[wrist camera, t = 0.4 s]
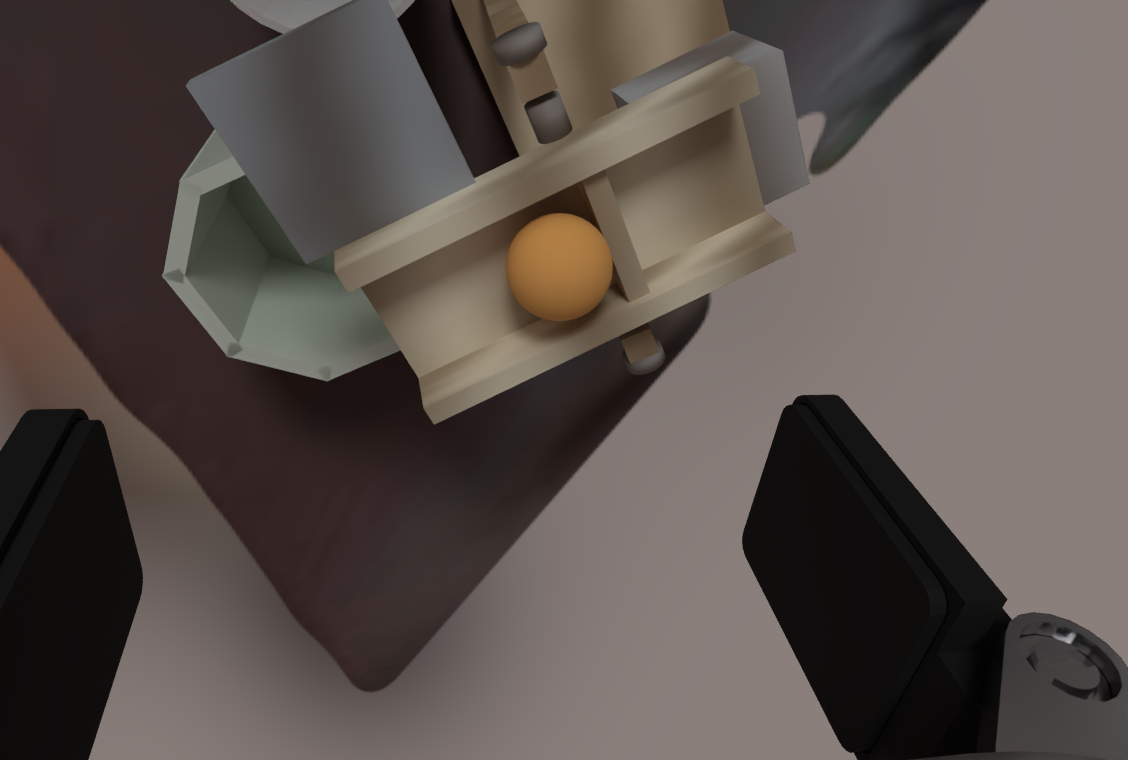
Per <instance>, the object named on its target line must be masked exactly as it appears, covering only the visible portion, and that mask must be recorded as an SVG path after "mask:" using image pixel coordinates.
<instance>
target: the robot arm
mask: <svg viewBox="0 0 1128 760" xmlns="http://www.w3.org/2000/svg"><path fill="white" fill-rule="evenodd" d="M742 544H743V550H744V554H745V557H746V559H747V561H748V563H749V565H750V567H751V569H752V571H753V573H754V575H755V577H756V579H757V581H758V582H759V585H760V587H761V588H762V590H763V592H764V594H765V596H766V598H767V600H768V602H769V604H770V606H771V608H772V610H773V612H774V614H775V616H776V618H777V620H778V622H779V624H780V626H781V628H782V630H783V632H784V634H785V636H786V638H787V639H788V642H789V644H790V645H791V648H792V650H793V652H794V654H795V656H796V658H797V659H798V661H799V663H800V665H801V667H802V669H803V671H804V673H805V675H806V677H807V679H808V681H809V683H810V685H811V687H812V689H813V691H814V693H815V695H816V697H817V699H818V701H819V703H820V705H821V707H822V709H823V711H824V713H825V715H826V717H827V719H828V721H829V723H830V725H831V727H832V729H833V731H834V733H835V735H836V736H837V738H838V740H839V742H840V743H841V745H842V747H843V748H844V749H845V750H846V751H848V752H850V753H852V752H854V754H855V756H856V758H857V760H1128V667H1127V666H1126V664H1125V663H1124V661H1123V660H1122V658H1121V657H1120V656H1119V655H1118V654H1117V653H1116V652H1115V651H1114V650H1113V649H1112V648H1111V647H1110V646H1109V645H1108V644H1107V643H1106V642H1104V641H1103V640H1101V639H1100V638H1099V637H1097V636H1095V634H1093V633H1092V632H1090V631H1089V630H1087V629H1085V628H1083V627H1081V626H1079V625H1078V624H1076V623H1074V622H1072V621H1070V620H1067V619H1064V618H1060V617H1057V616H1054V615H1051V614H1044V613H1035V612H1033V613H1027V614H1021V615H1018V616H1017V617H1016V618H1014V619H1013V620H1012V619H1011V618H1010V617H1009V616H1008V614H1007V613H1006V612H1005V611H1004V609H1003V608H1002V607H1003V606H1004V604H1005V602H1006V601H1007V598H1006V597H1005V596H1004V595H1003V593H1002V592H1001V591H1000V590H999V589H998V587H997V586H996V585H995V584H994V582H993V581H992V580H991V579H990V578H989V577H988V575H987V574H986V573H985V572H984V570H983V569H982V568H981V567H980V565H979V564H978V563H977V562H976V561H975V559H974V558H973V557H972V556H971V555H970V554H969V552H968V551H967V550H966V549H965V547H964V546H963V545H962V544H961V543H960V541H959V540H958V539H957V538H956V536H955V535H954V534H953V533H952V532H951V530H950V529H949V528H948V527H947V525H946V524H945V523H944V522H943V521H942V519H941V518H940V517H939V516H938V515H937V513H936V512H935V511H934V510H933V508H932V507H931V506H930V505H929V504H928V503H927V501H926V500H925V499H924V498H923V496H922V495H921V494H920V493H919V491H918V490H917V489H916V488H915V487H914V485H913V484H912V483H911V482H910V481H909V480H908V478H907V477H906V476H905V474H904V473H903V472H902V471H901V470H900V469H899V467H898V466H897V465H896V464H895V462H894V461H893V460H892V459H891V457H889V455H888V454H887V453H886V451H885V450H884V449H883V448H882V447H881V445H880V444H879V443H878V442H877V441H876V439H875V438H874V437H873V436H872V435H871V433H870V432H869V431H868V430H867V428H866V427H865V426H864V425H863V424H862V423H861V421H860V420H859V419H858V417H857V416H856V415H855V414H854V413H853V412H852V410H851V409H850V408H849V407H848V405H847V404H846V403H845V402H844V401H843V399H841V398H840V397H839V396H837V395H801V396H798V397H797V398H796V399H795V400H794V402H793V404H792V405H788V406H786V407H785V408H784V409H783V412H782V414H781V417H780V420H779V423H778V426H777V429H776V433H775V435H774V439H773V442H772V445H771V448H770V451H769V454H768V457H767V460H766V463H765V467H764V469H763V473H762V476H761V479H760V482H759V485H758V488H757V491H756V494H755V497H754V501H753V503H752V506H751V510H750V513H749V516H748V519H747V523H746V525H745V528H744V532H743V536H742ZM142 585H143V574H142V567H141V563H140V559H139V555H138V552H137V548H136V544H135V540H134V536H133V532H132V529H131V525H130V521H129V517H128V513H127V510H126V506H125V502H124V499H123V495H122V491H121V487H120V483H119V479H118V475H117V472H116V468H115V464H114V460H113V456H112V453H111V449H110V445H109V441H108V438H107V434H106V430H105V427H104V424H103V423H102V422H101V421H100V420H89V419H88V416H87V415H86V413H85V412H84V410H81V409H43V410H42V409H39V410H29V411H27V412H26V413H25V414H24V415H23V416H22V418H21V419H20V421H19V422H18V424H17V425H16V427H15V429H14V430H13V432H12V434H11V435H10V437H9V438H8V440H7V442H6V443H5V445H4V446H3V448H2V450H1V451H0V760H88V759H89V756H90V753H91V750H92V747H93V743H94V740H95V737H96V734H97V731H98V728H99V725H100V722H101V718H102V715H103V712H104V709H105V706H106V703H107V700H108V697H109V693H110V691H111V687H112V684H113V681H114V678H115V675H116V671H117V669H118V665H119V663H120V659H121V656H122V653H123V650H124V647H125V644H126V641H127V638H128V635H129V631H130V628H131V625H132V622H133V619H134V615H135V613H136V609H137V606H138V603H139V600H140V596H141V593H142Z"/></svg>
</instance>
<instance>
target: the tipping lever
mask: <svg viewBox="0 0 1128 760" xmlns="http://www.w3.org/2000/svg"><path fill="white" fill-rule="evenodd" d="M186 87H187V89H188V90H189V92H190V93H191V94H192V96H193V97H194V99H195V100H196V102H197V103H198V105H199V106H200V108H201V109H202V111H203V112H204V114H205V115H206V117H207V118H208V120H209V121H210V123H211V124H212V126H213V127H214V129H215V130H216V132H217V133H218V135H219V136H220V138H221V139H222V140H223V142H224V143H225V145H226V146H227V148H228V149H229V151H230V152H231V154H232V155H233V157H234V158H235V160H236V161H237V163H238V164H239V166H240V167H241V169H242V170H243V172H244V173H245V175H246V176H247V178H248V179H249V181H250V182H251V184H252V185H253V186H254V188H255V189H256V191H257V192H258V194H259V195H260V197H261V198H262V200H263V201H264V203H265V204H266V206H267V207H268V209H269V210H270V212H271V213H272V215H273V216H274V218H275V219H276V221H277V222H278V224H279V225H280V227H281V228H282V229H283V231H284V232H285V234H286V235H287V237H288V238H289V240H290V241H291V243H292V244H293V246H294V247H295V249H296V250H297V252H298V253H299V255H300V256H301V258H302V259H303V261H304V262H305V264H306V265H307V264H309V263H311V262H313V261H315V260H317V259H319V258H321V257H323V256H325V255H327V254H329V253H332V252H334V257H335V273H336V275H337V276H338V278H339V280H340V281H341V283H342V284H343V286H344V287H345V289H346V290H347V292H348V293H350V292H352V291H354V290H356V289H358V288H360V287H361V289H362V290H363V292H364V293H365V295H366V297H367V298H368V300H369V301H370V303H371V304H372V306H373V307H374V309H375V311H376V312H377V314H378V315H379V317H380V318H381V320H382V322H383V323H384V325H385V326H386V328H387V329H388V331H389V333H390V334H391V336H392V337H393V339H394V340H395V342H396V344H397V345H398V347H399V348H400V350H401V351H402V353H403V355H404V356H405V358H406V359H407V361H408V362H409V364H410V366H411V367H412V369H413V370H414V372H415V373H416V375H417V376H418V378H419V384H420V390H421V396H422V402H423V408H424V410H425V411H426V413H427V414H428V416H429V417H430V419H431V421H432V422H433V424H434V425H435V424H437V423H439V422H441V421H443V420H445V419H447V418H449V417H451V416H453V415H455V414H457V413H460V412H462V411H464V410H466V409H468V408H470V407H472V406H474V405H476V404H478V403H480V402H483V401H485V400H487V399H489V398H491V397H493V396H495V395H497V394H499V393H501V392H503V391H505V390H508V389H510V388H512V387H514V386H516V385H518V384H520V383H522V382H524V381H526V380H528V379H530V378H533V377H535V376H537V375H539V374H541V373H543V372H545V371H547V370H549V369H551V368H553V367H555V366H558V365H560V364H562V363H564V362H566V361H568V360H570V359H572V358H574V357H576V356H578V355H580V354H583V353H585V352H587V351H589V350H591V349H593V348H595V347H597V346H599V345H601V344H603V343H605V342H608V341H610V340H612V339H614V338H616V337H618V336H620V335H622V334H624V333H626V332H628V331H630V330H633V329H635V328H637V327H639V326H641V325H643V324H645V323H647V322H649V321H651V320H653V319H655V318H658V317H660V316H662V315H664V314H666V313H668V312H670V311H672V310H674V309H676V308H678V307H680V306H683V305H685V304H687V303H689V302H691V301H693V300H695V299H697V298H699V297H701V296H703V295H705V294H708V293H710V292H712V291H714V290H716V289H718V288H720V287H722V286H724V285H726V284H728V283H730V282H732V281H735V280H736V279H739V278H741V277H743V276H745V275H747V274H749V273H751V272H753V271H755V270H758V269H760V268H762V267H764V266H766V265H768V264H770V263H772V262H774V261H776V260H778V259H780V258H783V257H785V256H787V255H789V254H791V253H793V252H795V251H796V249H795V245H794V241H793V236H792V232H791V231H790V230H789V229H787V228H786V227H785V226H783V225H782V224H781V223H780V222H778V221H777V220H776V219H775V218H773V217H772V216H771V215H769V214H768V213H767V212H766V211H765V209H764V205H766V204H768V203H770V202H772V201H774V200H776V199H779V198H781V197H783V196H785V195H787V194H789V193H791V192H793V191H795V190H797V189H799V188H801V187H804V186H806V185H808V184H810V183H809V178H808V173H807V168H806V163H805V158H804V153H803V149H802V143H801V139H800V133H799V128H798V124H797V119H796V114H795V109H794V104H793V99H792V94H791V89H790V84H789V79H788V74H787V69H786V64H785V59H784V54H783V51H782V50H780V49H777V48H775V47H772V46H770V45H767V44H765V43H762V42H760V41H757V40H755V39H752V38H750V37H747V36H745V35H742V34H739V33H737V32H734V31H731V32H728V33H726V34H724V35H722V36H720V37H718V38H716V39H714V40H712V41H710V42H708V43H706V44H704V45H702V46H700V47H698V48H695V49H693V50H691V51H689V52H687V53H685V54H683V55H681V56H679V57H677V58H675V59H673V60H671V61H669V62H667V63H665V64H662V65H660V66H658V67H656V68H654V69H652V70H650V71H648V72H646V73H644V74H642V75H640V76H638V77H636V78H634V79H631V80H629V81H627V82H625V83H623V84H621V85H619V86H617V87H615V88H613V89H611V92H612V95H613V97H614V100H615V103H616V106H617V110H615V111H613V112H611V113H609V114H606V115H604V116H602V117H600V118H598V119H596V120H594V121H592V122H590V123H588V124H586V125H584V126H582V127H580V128H578V129H575V130H573V131H572V125H571V122H570V120H569V117H568V114H567V112H566V109H565V107H564V104H563V101H562V99H561V96H560V94H559V92H558V91H551V92H548V93H546V94H544V95H542V96H539V97H537V98H535V99H533V100H530V101H528V102H527V103H526V104H525V105H524V109H525V111H526V114H527V116H528V118H529V121H530V123H531V126H532V128H533V130H534V133H535V135H536V138H537V140H538V142H539V143H540V144H544V145H542V146H540V147H538V148H536V149H534V150H532V151H530V152H528V153H526V154H524V155H522V156H520V157H518V158H516V159H513V160H511V161H509V162H507V163H505V164H503V165H501V166H499V167H497V168H495V169H493V170H491V171H489V172H487V173H485V174H483V175H480V176H478V177H476V178H474V177H473V175H472V173H471V171H470V169H469V167H468V165H467V163H466V161H465V159H464V157H463V155H462V153H461V150H460V148H459V146H458V144H457V142H456V140H455V138H454V136H453V134H452V132H451V130H450V128H449V126H448V124H447V122H446V119H445V117H444V115H443V113H442V111H441V109H440V107H439V105H438V103H437V101H436V99H435V97H434V95H433V93H432V90H431V88H430V86H429V84H428V82H427V80H426V78H425V76H424V74H423V72H422V70H421V68H420V66H419V64H418V62H417V59H416V57H415V55H414V53H413V51H412V49H411V47H410V45H409V43H408V41H407V39H406V37H405V35H404V33H403V31H402V28H401V26H400V24H399V22H398V20H397V18H396V16H395V14H394V12H393V10H392V8H391V6H390V4H389V2H388V0H352V1H350V2H348V3H346V4H344V5H342V6H340V7H338V8H336V9H334V10H332V11H329V12H327V13H325V14H323V15H321V16H319V17H317V18H315V19H313V20H311V21H309V22H307V23H305V24H303V25H301V26H299V27H297V28H295V29H293V30H291V31H289V32H286V33H284V34H282V35H280V36H278V37H276V38H274V39H272V40H270V41H268V42H266V43H264V44H262V45H260V46H258V47H256V48H254V49H252V50H250V51H248V52H246V53H243V54H241V55H239V56H237V57H235V58H233V59H231V60H229V61H227V62H225V63H223V64H221V65H219V66H217V67H215V68H213V69H211V70H209V71H207V72H205V73H203V74H201V75H198V76H196V77H194V78H192V79H190V80H189V82H188V83H187V85H186ZM552 213H565V214H572V215H575V216H578V217H580V218H583V219H585V220H586V221H588V222H590V223H591V224H592V225H593V226H595V227H596V228H597V229H598V230H599V232H600V233H601V234H602V235H603V237H604V238H605V240H606V242H607V244H608V246H609V248H610V252H611V255H612V261H613V272H612V279H611V283H610V286H609V288H608V290H607V292H606V294H605V296H604V297H603V299H602V300H601V302H600V303H599V304H598V305H597V306H596V307H595V308H594V309H592V310H591V311H590V312H588V313H587V314H585V315H583V316H581V317H578V318H576V319H572V320H567V321H551V320H546V319H543V318H540V317H538V316H536V315H534V314H532V313H530V312H529V311H528V310H526V309H525V308H524V307H523V306H522V305H521V304H520V303H519V302H518V301H517V299H516V298H515V296H514V295H513V293H512V291H511V289H510V287H509V284H508V280H507V276H506V259H507V254H508V250H509V247H510V245H511V243H512V241H513V239H514V238H515V236H516V235H517V233H518V232H519V231H520V230H521V229H522V228H523V227H524V226H525V225H526V224H528V223H529V222H530V221H532V220H534V219H536V218H538V217H540V216H543V215H547V214H552Z"/></svg>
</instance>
